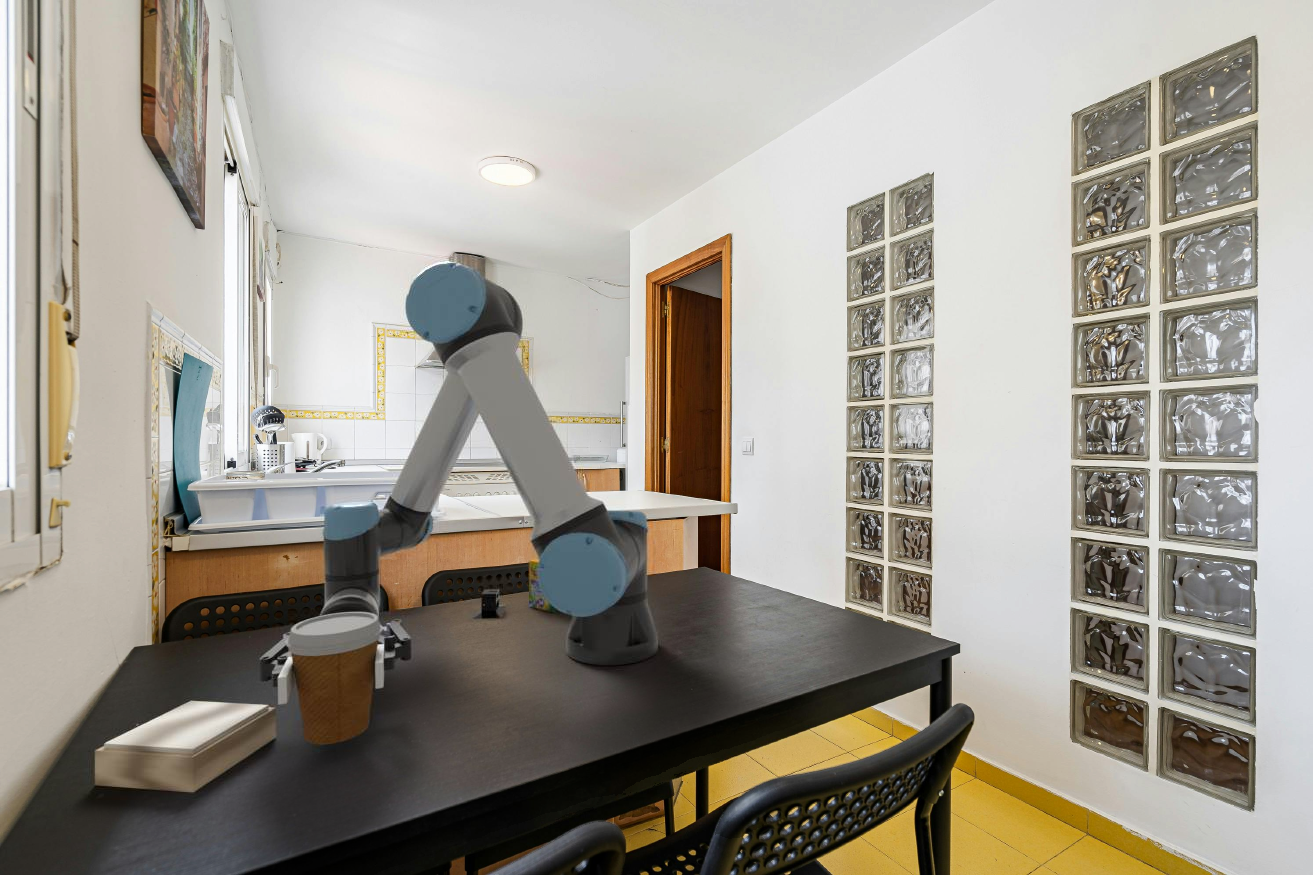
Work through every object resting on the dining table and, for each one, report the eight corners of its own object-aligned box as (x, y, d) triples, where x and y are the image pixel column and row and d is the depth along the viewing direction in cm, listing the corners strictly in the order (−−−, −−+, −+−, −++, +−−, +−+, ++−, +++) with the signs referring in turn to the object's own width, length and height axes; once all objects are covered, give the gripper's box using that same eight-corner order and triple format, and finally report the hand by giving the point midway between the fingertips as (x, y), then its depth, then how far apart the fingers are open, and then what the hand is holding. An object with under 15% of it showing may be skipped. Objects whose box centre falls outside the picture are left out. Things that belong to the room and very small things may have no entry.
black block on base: (504, 622, 116) (504, 598, 116) (465, 624, 115) (465, 600, 115) (512, 605, 129) (512, 583, 129) (476, 606, 128) (476, 584, 128)
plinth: (275, 737, 71) (275, 703, 71) (193, 792, 60) (193, 751, 60) (190, 732, 72) (190, 698, 72) (95, 784, 61) (94, 745, 61)
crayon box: (528, 607, 125) (528, 551, 125) (538, 604, 127) (538, 548, 127) (553, 613, 121) (553, 554, 121) (564, 609, 123) (564, 552, 123)
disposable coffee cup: (313, 713, 72) (311, 612, 72) (396, 709, 72) (394, 608, 72) (268, 755, 62) (266, 638, 62) (364, 749, 63) (362, 634, 63)
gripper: (429, 638, 88) (440, 699, 67) (259, 662, 80) (210, 740, 59) (428, 587, 88) (438, 632, 67) (258, 605, 80) (209, 663, 59)
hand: (332, 682), depth 63 cm, fingers closed on disposable coffee cup, 8 cm apart
